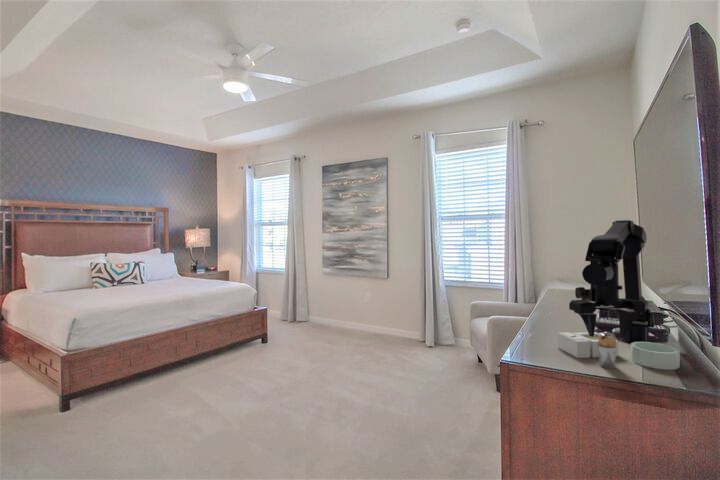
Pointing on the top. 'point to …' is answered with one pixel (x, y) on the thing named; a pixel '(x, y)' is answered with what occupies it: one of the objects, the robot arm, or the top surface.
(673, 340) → the top surface
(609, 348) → the battery cell
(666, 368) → the cup
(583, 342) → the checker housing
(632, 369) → the top surface
